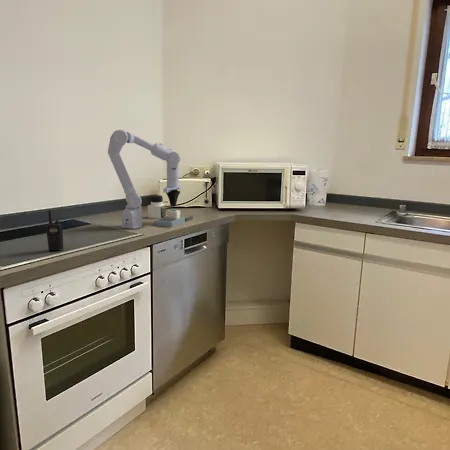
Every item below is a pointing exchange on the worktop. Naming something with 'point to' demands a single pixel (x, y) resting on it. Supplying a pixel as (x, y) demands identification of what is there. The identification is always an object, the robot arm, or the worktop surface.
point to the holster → (188, 218)
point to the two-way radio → (54, 234)
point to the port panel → (169, 222)
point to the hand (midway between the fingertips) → (173, 205)
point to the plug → (173, 214)
